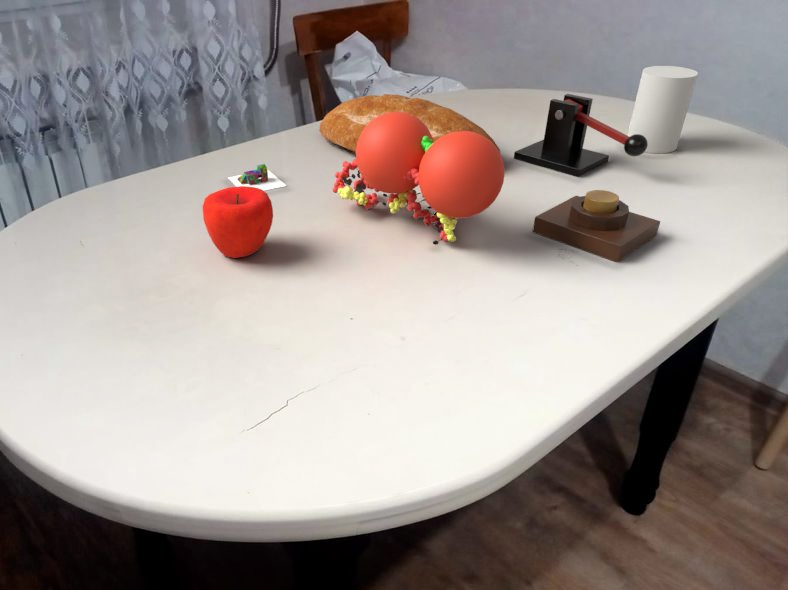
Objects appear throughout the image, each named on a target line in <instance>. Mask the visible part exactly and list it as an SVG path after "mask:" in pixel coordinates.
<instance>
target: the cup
mask: <svg viewBox="0 0 788 590" xmlns="http://www.w3.org/2000/svg"><path fill="white" fill-rule="evenodd" d="M698 76H699V72H698V71H696V70H694V69H692V68H687V67H683V66H676V65H653V66H648V67H647V66H646V67H644V68H643V69H642V73H641V76H640V77H641V78H640V81H639V85H638V89H637V94H636V98H635V100H634V105H633V111H632V114H631V118H630V123H629V126H628V131H627V134H626V135H627V136H629V137H630V136H632V135H635V134H640V135H643V136H644V137H645V138H646V139H647V142H648V146H647V149H646V151H645V152H644V153H647V154H668V153H672V152H675V151H677V148H678V144H679V141H680V138H681V135H682V131H683V128H684V124H685V120H686V117H687V113H688V110H689V108H690V107H689V106H690V103H691V99H692V96H693V92H694V89H695V85H696V83H697V79H698Z"/></svg>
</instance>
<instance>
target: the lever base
mask: <svg viewBox="0 0 788 590" xmlns="http://www.w3.org/2000/svg"><path fill="white" fill-rule="evenodd" d="M567 99H570V100H572V101H574V102H576V103H578V104H576V103H571V102H567V101H565V100H567ZM593 99H594V98H591V97H586V96H581V95H577V94H571V93H566V94H564V95H563V100H562V99H558V98H557V99H556V98H552V99H550V101H549V106H548V112H547V118H546V124H545V130H544V135H543V139H542V140H539V141H536V142H534V143H532V144H530V145H526V146H524V147H523V148H520V149H518V150H515V151H514V152H513V153H514V154H513V159H514V160H516V161H520V162H524V163H528V164H532V165H534V166H539V167H541V168H545V169H549V170H553V171H556V172H559V173H562V174H566V175H569V176H573V177H577V178H580V177H581V176H583V175H585V174H588V173H590V172H592V171H594V170H595V169H598V168H599V167H602V166H604V165H605V164H607V163H609V160H610V155H609V154H606V153H603V152H598V151H594V150H590V149H587V148H584V144H585V138H586V133H587V129H588V126H587V125H585V124H583V123H581V122H579V121H578V120H577V121H576V117H577V112H578V107H579V104H580V105H582V106H583V108H582V111H581V112H582V113H584V114H586V115H588V116H590V115H591V109H592V105H593Z"/></svg>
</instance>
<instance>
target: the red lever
mask: <svg viewBox="0 0 788 590" xmlns="http://www.w3.org/2000/svg"><path fill="white" fill-rule="evenodd" d="M565 101H567V102H571V103H576V102H574V101H572V100H570V99H567V100H565ZM576 104H578V103H576ZM582 108H583V106H582V105H580V104H579V107H578V112H577V117H576V121H577V120H578V121H579V122H581V123H583V124H585V125H587V127H589V128H591V129H593V130H595V131H597V132H599V133H601V134H602V135H604V136H607V137H608V138H610V139H612V140H614V141H616V142H618V143H619V144H622V145H623V150H624V152H625V154H627V156H630V157H633V158H635V157H639V156H642V155H643V154H644V153H646V152H645V151H646V149H647V146H648V142H647V139H646V138H645V137H644V136H643V135H640V134H635V135H632V136H630V137H629V136H627V134H625V133H623V132H621V131H619V130H617V129H615V128H613V127H612V126H609V125H608V124H606V123H604V122H602V121H600V120H598V119H596V118H593V117H592V116H590V115H589V116H588V115H586V114H584V113H582V112H581V111H582Z"/></svg>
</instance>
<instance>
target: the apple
mask: <svg viewBox="0 0 788 590" xmlns="http://www.w3.org/2000/svg"><path fill="white" fill-rule="evenodd" d="M202 218H203V223H204V225H205V229H206V232H207V234H208V236H209V237H210V239H211V241H212V243H213V245H214V246H215V248H216V249H217V250H218V251H219V252H220V253H221V254H222V255H223V256H224V257H228V258H232V259H237V258H238V259H239V258H243V257H248V256H250V255H252V254H254V253H255V252H257V251H258V250H259V249H261V247H262V246H263V245H264V243H265V241H266V239H267V237H268V235H269V233H270V231H271V228H272V225H273V221H274V220H273V219H274V209H273V203H272V200H271V198H270V196H269V195H268V192H266V191H265V190H264V191H263V190H262V189H259V188H255V187H246V186H238V187H236V186H228V187H225V188H222V189H219V190H217V191H214V192H212V193H209V194H208V195H207V196H206V197H205V198H204V200H203V204H202Z"/></svg>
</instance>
